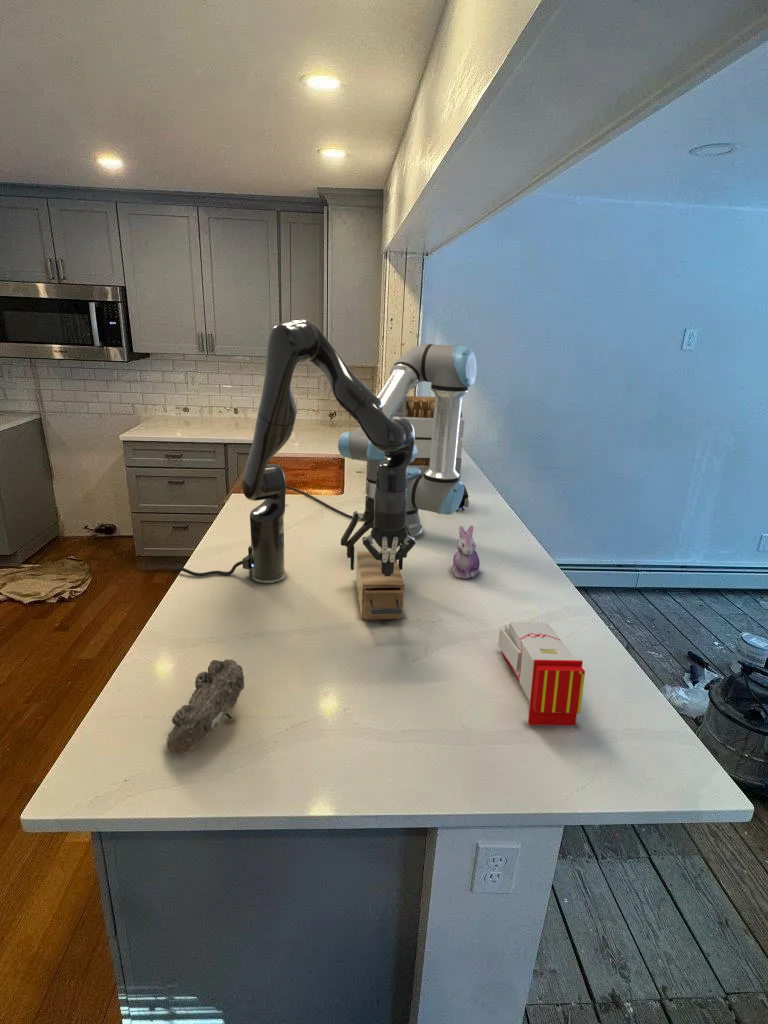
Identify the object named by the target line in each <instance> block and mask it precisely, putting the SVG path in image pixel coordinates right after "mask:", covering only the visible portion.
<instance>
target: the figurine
mask: <svg viewBox="0 0 768 1024" xmlns="http://www.w3.org/2000/svg"><path fill="white" fill-rule="evenodd" d="M458 533H459V535H458V536H459V537H458V538H459V539H458V541H457V544H456V547H457V548H456V549H457V551H456V553H455V554H454V555H453V561H452V563H453V565H452V568H451V571H452V573H453V574H454V576H455V577H456V578H458V579H465V580H466V579H469V578H474V577H476V576H477V574H478V573H479V570H480V569H479V568H480V564H481V563H480V562H481V561H480V557H479V554H478V552H477V551H476V549H477V548H476V546H477V545H476V542H475V540H474V537H473V533H474V525H473V524H471V525H469V527H468V529H467V530H465V529H464V527H463V526H462V525H460V526H459V527H458Z"/></svg>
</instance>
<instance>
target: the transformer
mask: <svg viewBox="0 0 768 1024" xmlns="http://www.w3.org/2000/svg"><path fill="white" fill-rule="evenodd" d="M434 404H435V396H415V395H414V396H413V395H412V396H411V395H407V396H406V397H405V399H404V401H403V402H402V404H401V405H400V407H399V409H398V410H397V412H396V413H395V415H394V417H393V418H392V419H394V418H405V419H407V420H408V421H410V422H411V424H412V426H413V428H414V432H415V445H416V447H417V456H416V458H415V460H414V461H413V462H411V463H410V464H409V467H410V466H411V467H417V466H418V467H429V464H430V452H431V440H432V428H433V416H434ZM464 429H465V419H464V418H463V411H461V415H460V425H459V436H458V446H457V456H456V466H455V470H456V472H457V473H458V474H459V481H460V482H461V472H462V461H463V460H462V453H463V442H464V441H463V440H462V439H463V438H464V431H465V430H464Z"/></svg>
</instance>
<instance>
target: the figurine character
mask: <svg viewBox="0 0 768 1024" xmlns="http://www.w3.org/2000/svg"><path fill="white" fill-rule="evenodd" d="M469 505H470V500H469V492H468V490H467V488H466V485H464V494H463V498H462V501H461V503H460V505H459V507H458V509H461V511H462V512H464V511H465V508H469ZM458 509H457V510H456V511H455V512H457V511H458Z"/></svg>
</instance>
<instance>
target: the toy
mask: <svg viewBox="0 0 768 1024" xmlns="http://www.w3.org/2000/svg"><path fill="white" fill-rule="evenodd" d="M498 636H499V637H498V642H497V646H498V647H499V649H500V653H501V654H502V656H503V657H504V659H505V661H506V663H507V664H508V665H509V667H510V669H511V671H512V672H513V674H514V676H515V677H516V679H517V680H518V681H519V684H520V686H521V688H522V690H523V692H524V694H525V696H526V698H527V700H528V701H529V710H528V719H527V724H528V726H573V727H575V726H576V724H577V723H576V722H577V715H578V714H581V710H582V709H581V708H582V701H583V692H584V683H585V674H586V670H585V669H584V668H583V662H584V661H583V660H581V659H580V660H578V659H576V657H575V656H574V655H573V654H572V653H571V651H570V650H569V648H568V647H567V645H565V644H564V642H563V641H562V640H561V638H560V637H559V636H558V635H557V633H556V631H555V630H554V629H553V628H552V627H551V626H550V624H549V622H527V621H526V622H525V621H523V622H521V621H509V624H504V628H503V627H500V628H499V634H498Z"/></svg>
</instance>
